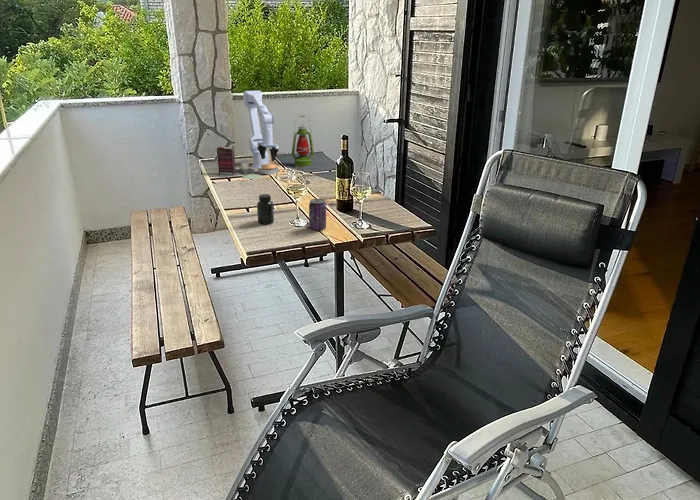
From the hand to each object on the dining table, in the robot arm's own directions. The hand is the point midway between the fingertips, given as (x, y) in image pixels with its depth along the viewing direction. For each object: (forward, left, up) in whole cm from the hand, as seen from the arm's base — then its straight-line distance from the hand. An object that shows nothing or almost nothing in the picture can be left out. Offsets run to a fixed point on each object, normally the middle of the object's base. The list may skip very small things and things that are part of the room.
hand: (268, 159), depth 301 cm
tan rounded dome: (0, 0, -8) cm, 8 cm away
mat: (+12, -1, -8) cm, 14 cm away
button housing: (0, 0, -8) cm, 8 cm away
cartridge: (+7, -12, -7) cm, 16 cm away
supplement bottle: (+62, +55, -8) cm, 83 cm away
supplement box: (+18, -15, -8) cm, 25 cm away
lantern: (-26, +4, -8) cm, 28 cm away
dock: (+7, -12, -8) cm, 16 cm away
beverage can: (+54, +77, -8) cm, 94 cm away
